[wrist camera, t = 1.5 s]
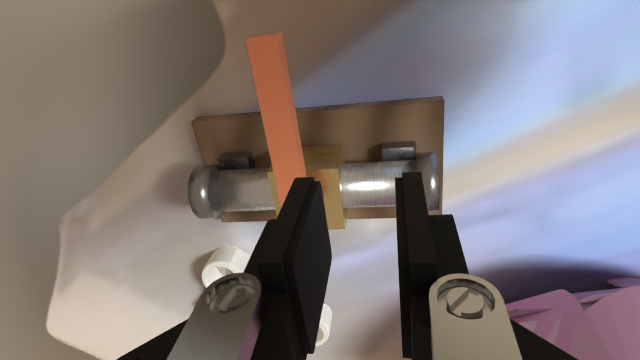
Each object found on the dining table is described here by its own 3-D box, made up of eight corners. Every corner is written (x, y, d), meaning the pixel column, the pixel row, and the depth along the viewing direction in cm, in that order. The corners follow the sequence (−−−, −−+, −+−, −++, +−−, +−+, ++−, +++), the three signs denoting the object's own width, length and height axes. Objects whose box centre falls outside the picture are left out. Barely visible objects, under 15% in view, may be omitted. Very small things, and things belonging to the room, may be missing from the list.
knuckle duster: (185, 287, 52) (236, 222, 45) (291, 352, 55) (354, 300, 48) (173, 306, 49) (226, 239, 42) (286, 373, 52) (352, 321, 45)
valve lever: (288, 31, 24) (283, 34, 22) (320, 231, 31) (318, 242, 30) (246, 36, 24) (238, 40, 23) (287, 232, 31) (283, 242, 30)
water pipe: (432, 134, 34) (444, 177, 27) (431, 191, 37) (442, 244, 30) (208, 149, 38) (168, 189, 31) (223, 199, 41) (189, 247, 34)
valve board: (441, 96, 34) (444, 101, 33) (440, 208, 39) (441, 216, 38) (197, 117, 39) (191, 122, 37) (226, 214, 44) (221, 222, 43)
